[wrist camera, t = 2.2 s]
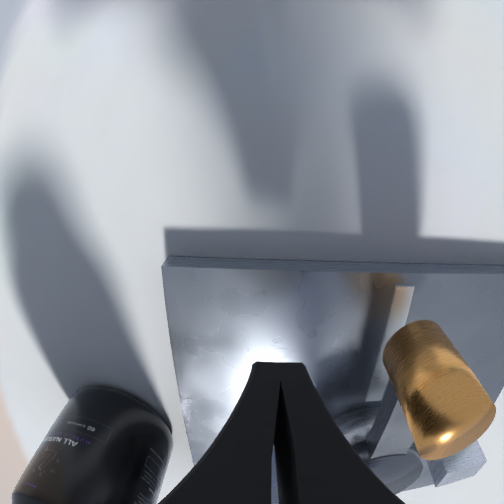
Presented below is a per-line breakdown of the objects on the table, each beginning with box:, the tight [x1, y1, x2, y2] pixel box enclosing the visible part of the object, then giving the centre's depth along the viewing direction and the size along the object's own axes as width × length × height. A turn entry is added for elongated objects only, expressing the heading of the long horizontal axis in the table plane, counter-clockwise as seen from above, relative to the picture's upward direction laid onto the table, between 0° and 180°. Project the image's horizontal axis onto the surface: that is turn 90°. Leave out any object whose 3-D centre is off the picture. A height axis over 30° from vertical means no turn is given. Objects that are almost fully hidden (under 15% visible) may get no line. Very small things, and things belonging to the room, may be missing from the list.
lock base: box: [161, 256, 504, 503], centre depth 13 cm, size 18×18×4 cm
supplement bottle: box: [12, 387, 173, 504], centre depth 11 cm, size 7×7×12 cm
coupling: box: [352, 320, 496, 494], centre depth 9 cm, size 11×5×4 cm, turn 179°
